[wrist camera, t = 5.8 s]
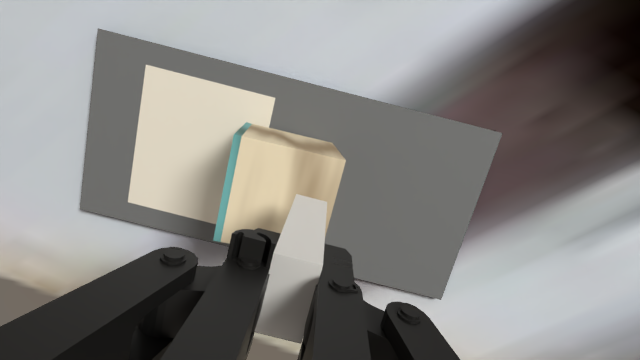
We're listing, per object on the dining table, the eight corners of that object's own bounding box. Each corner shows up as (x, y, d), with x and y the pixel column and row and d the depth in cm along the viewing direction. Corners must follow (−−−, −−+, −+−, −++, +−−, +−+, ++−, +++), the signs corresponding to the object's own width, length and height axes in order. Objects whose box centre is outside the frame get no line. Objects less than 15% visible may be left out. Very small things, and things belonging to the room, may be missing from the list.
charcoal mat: (498, 132, 25) (502, 133, 25) (438, 295, 28) (441, 299, 27) (103, 30, 25) (97, 28, 24) (85, 206, 28) (79, 209, 27)
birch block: (345, 160, 19) (233, 134, 19) (318, 260, 21) (213, 240, 20) (332, 142, 25) (246, 122, 24) (311, 221, 27) (229, 205, 26)
